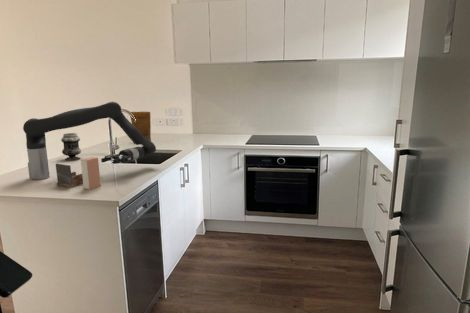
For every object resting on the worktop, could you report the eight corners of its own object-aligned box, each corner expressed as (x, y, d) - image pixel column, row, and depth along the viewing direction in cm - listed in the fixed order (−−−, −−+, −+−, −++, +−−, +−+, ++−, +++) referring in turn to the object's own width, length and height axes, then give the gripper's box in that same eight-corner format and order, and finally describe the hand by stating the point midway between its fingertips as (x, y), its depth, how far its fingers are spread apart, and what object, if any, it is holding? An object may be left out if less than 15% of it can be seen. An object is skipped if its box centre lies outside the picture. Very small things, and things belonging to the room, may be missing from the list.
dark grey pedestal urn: (80, 160, 232) (78, 134, 228) (61, 161, 228) (58, 135, 224) (82, 156, 243) (80, 132, 239) (64, 158, 240) (61, 132, 236)
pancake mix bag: (150, 144, 291) (148, 111, 285) (131, 143, 297) (128, 111, 291) (154, 143, 298) (152, 111, 292) (135, 141, 303) (133, 110, 297)
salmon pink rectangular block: (94, 184, 177) (92, 157, 174) (100, 185, 176) (97, 157, 172) (83, 188, 171) (80, 159, 168) (89, 189, 169) (86, 160, 166)
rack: (76, 179, 187) (74, 159, 184) (89, 181, 182) (87, 161, 180) (56, 185, 176) (54, 164, 174) (70, 188, 172) (67, 166, 169)
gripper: (119, 147, 197) (97, 153, 183) (138, 149, 191) (117, 155, 177) (120, 160, 199) (98, 166, 185) (139, 162, 193) (118, 169, 179)
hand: (107, 161), depth 181 cm, fingers open, 8 cm apart
